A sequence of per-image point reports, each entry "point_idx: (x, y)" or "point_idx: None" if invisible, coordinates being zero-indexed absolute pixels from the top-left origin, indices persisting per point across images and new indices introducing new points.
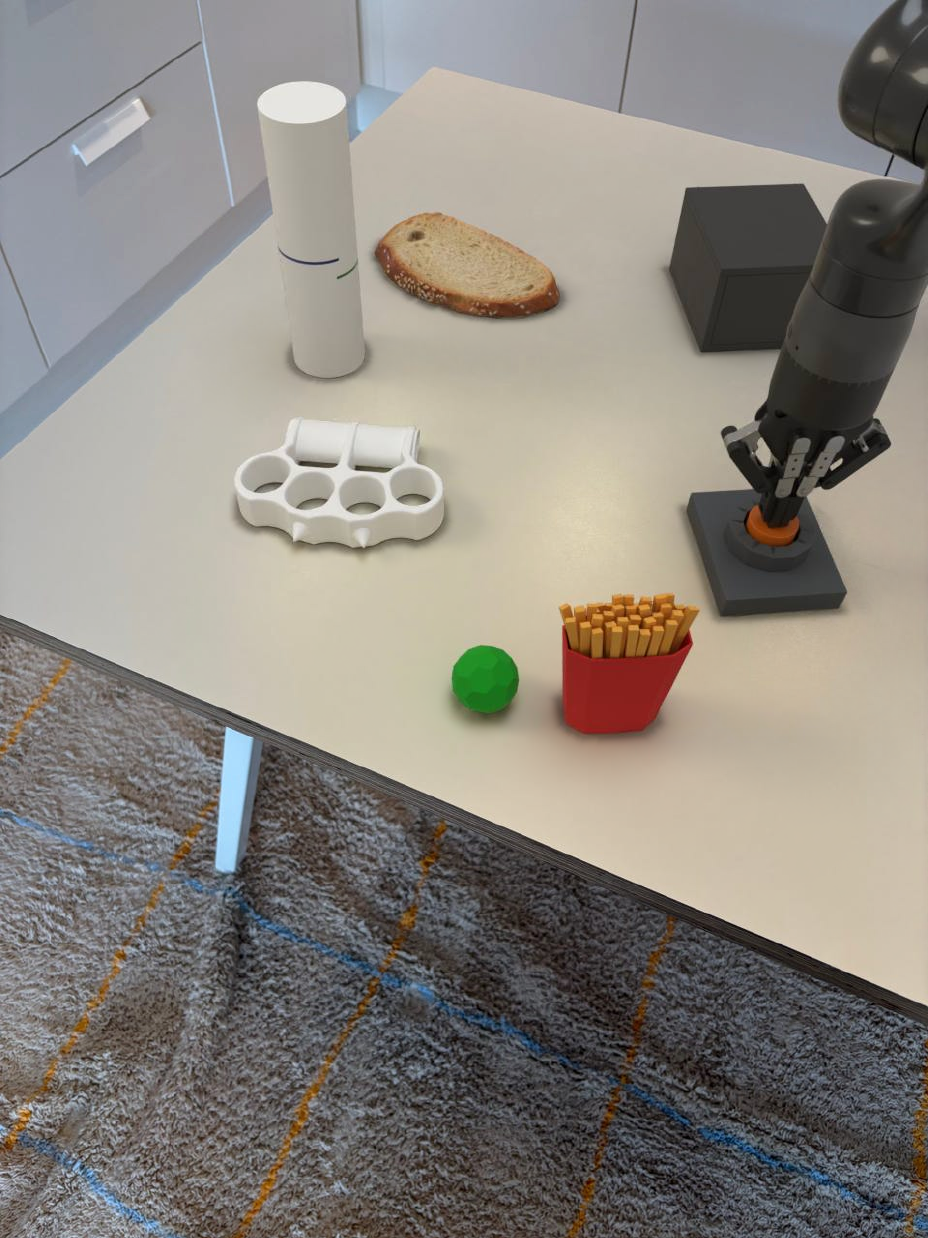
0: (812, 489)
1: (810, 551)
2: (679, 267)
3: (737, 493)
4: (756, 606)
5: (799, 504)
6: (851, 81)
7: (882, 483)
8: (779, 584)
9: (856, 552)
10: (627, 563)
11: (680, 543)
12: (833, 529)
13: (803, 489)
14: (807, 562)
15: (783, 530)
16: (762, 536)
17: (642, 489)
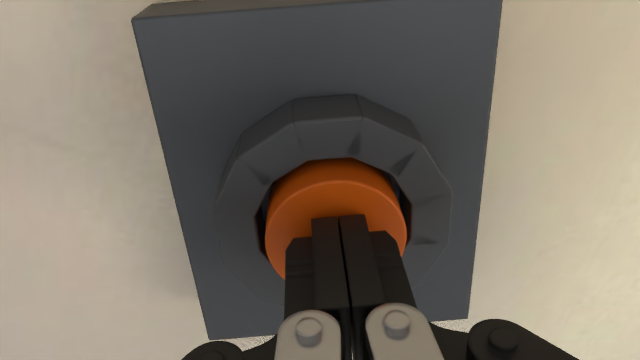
0: (278, 341)
1: (220, 162)
2: None
3: None
4: None
5: (293, 283)
6: None
7: (23, 348)
8: (331, 48)
9: (90, 181)
10: (634, 147)
11: (494, 201)
12: (139, 241)
13: (317, 340)
14: (235, 127)
15: (319, 206)
16: (381, 188)
17: (520, 323)
